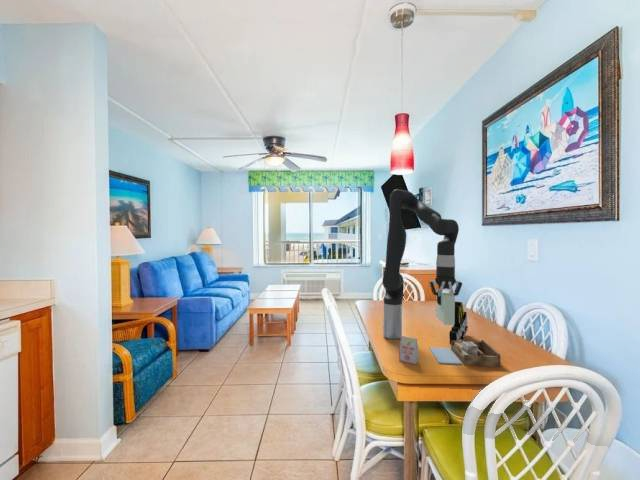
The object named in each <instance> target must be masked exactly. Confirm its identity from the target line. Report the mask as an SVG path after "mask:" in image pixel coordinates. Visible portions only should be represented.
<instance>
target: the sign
mask: <svg viewBox="0 0 640 480" xmlns="http://www.w3.org/2000/svg"><path fill="white" fill-rule="evenodd" d="M468 329H469V326H468V312H467V311H464V304H463V302H461V301H456V300H455V325H452V326H451V329H450V331H449V333H448V334H449V335H448V336H449V344H450V345H451V341H461V340H464V338H465V336H466V333H467V331H468Z"/></svg>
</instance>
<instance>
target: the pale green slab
mask: <svg viewBox="0 0 640 480" xmlns="http://www.w3.org/2000/svg"><path fill="white" fill-rule="evenodd" d="M435 290H436V289H435ZM437 291H438V289H437V290H436V292H437ZM435 297H436V301H435V302H436V309H435V315H436V316H435V317H436V318H437V319H438V320H439V321H440V322H441V323H442V324H443V325H444V326H445V325H446V326H453V325H455V301H456V296H454V295H453V294H451V293H449V291H448V290H447V289H443V291H442V293H441V305H438V303H437V296H436V295H435Z"/></svg>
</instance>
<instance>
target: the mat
mask: <svg viewBox="0 0 640 480" xmlns="http://www.w3.org/2000/svg"><path fill="white" fill-rule="evenodd" d="M428 349H429V350H430V352H431V353H432V355H433V356H434V358H435V360H436V361H437V363H438V364H440V365H460V366H462V365H463V363H462V362H461V361H460V359H459V358H458V357H457V356H456V355H455V353H454V352H453V351H452V350H451V347H450V348H449V347H430V346H429V348H428Z"/></svg>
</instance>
